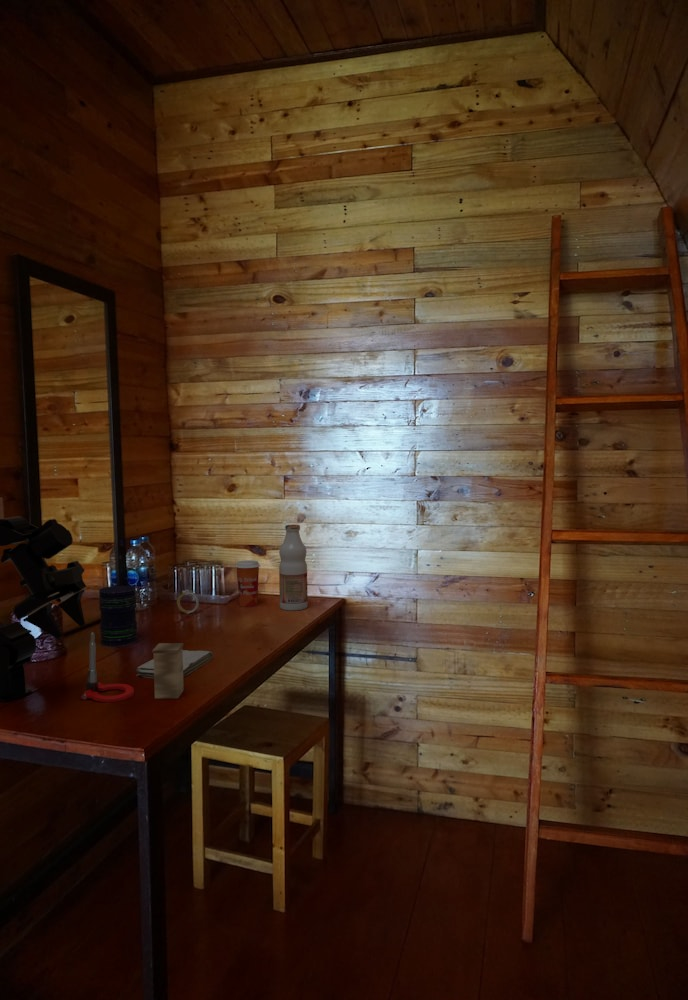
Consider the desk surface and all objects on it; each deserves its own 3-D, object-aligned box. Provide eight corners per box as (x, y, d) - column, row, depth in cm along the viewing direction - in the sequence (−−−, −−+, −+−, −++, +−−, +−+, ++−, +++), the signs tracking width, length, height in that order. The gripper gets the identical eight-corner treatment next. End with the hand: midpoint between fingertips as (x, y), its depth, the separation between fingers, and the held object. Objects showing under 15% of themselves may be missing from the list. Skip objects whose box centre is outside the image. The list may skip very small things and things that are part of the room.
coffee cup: (234, 607, 230) (233, 563, 229) (238, 602, 239) (238, 559, 238) (258, 607, 230) (258, 563, 229) (262, 602, 238) (261, 559, 237)
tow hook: (140, 690, 153) (98, 687, 154) (141, 629, 152) (98, 627, 153) (123, 705, 144) (78, 702, 145) (123, 641, 143) (78, 638, 144)
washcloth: (133, 679, 161) (133, 666, 161) (172, 656, 178) (171, 645, 178) (178, 683, 158) (178, 670, 157) (213, 660, 175) (213, 648, 175)
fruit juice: (274, 607, 230) (272, 525, 228) (295, 603, 236) (294, 523, 234) (291, 612, 223) (290, 527, 221) (313, 607, 230) (312, 525, 228)
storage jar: (94, 646, 186) (92, 581, 185) (108, 636, 196) (106, 574, 194) (130, 646, 186) (128, 581, 184) (142, 636, 195) (140, 574, 194)
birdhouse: (153, 698, 147) (152, 650, 146) (164, 684, 156) (163, 638, 155) (178, 698, 147) (177, 650, 146) (188, 684, 156) (187, 638, 155)
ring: (176, 614, 222) (175, 590, 221) (179, 612, 225) (179, 588, 224) (196, 614, 221) (196, 590, 220) (200, 612, 224) (199, 588, 224)
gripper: (36, 558, 135) (77, 625, 135) (85, 543, 154) (121, 602, 154) (-6, 585, 137) (35, 651, 137) (47, 568, 156) (83, 626, 156)
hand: (71, 631), depth 146 cm, fingers open, 9 cm apart
